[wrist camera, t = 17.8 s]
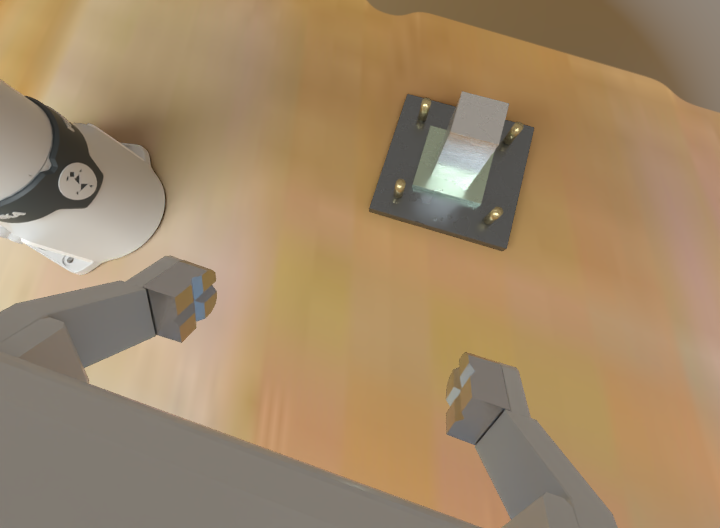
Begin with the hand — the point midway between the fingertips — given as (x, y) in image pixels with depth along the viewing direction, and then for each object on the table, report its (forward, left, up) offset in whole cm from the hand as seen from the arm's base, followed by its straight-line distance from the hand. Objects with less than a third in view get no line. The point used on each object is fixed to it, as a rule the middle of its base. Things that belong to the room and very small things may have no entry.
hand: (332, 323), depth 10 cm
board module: (+6, +24, -28) cm, 38 cm away
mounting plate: (+6, +24, -29) cm, 39 cm away
